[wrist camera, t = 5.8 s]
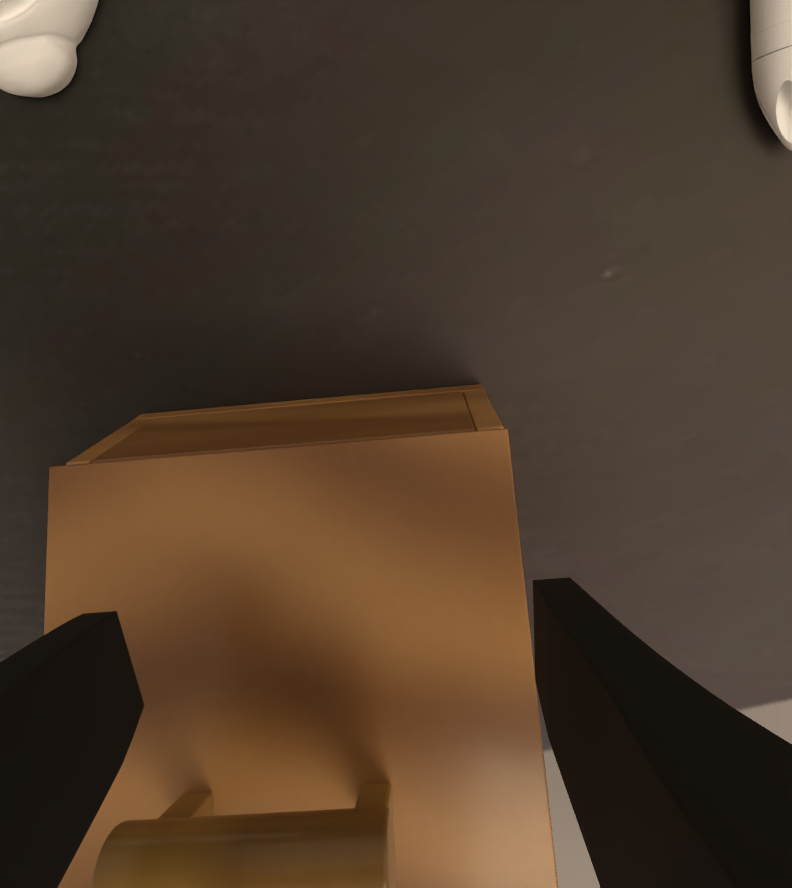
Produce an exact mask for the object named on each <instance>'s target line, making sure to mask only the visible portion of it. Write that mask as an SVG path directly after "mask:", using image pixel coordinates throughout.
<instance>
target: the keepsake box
mask: <svg viewBox="0 0 792 888" xmlns="http://www.w3.org/2000/svg"><path fill="white" fill-rule="evenodd" d="M492 429H504V427H503V425H502V424H501V422H500V420H499V418H498V416H497V414H496V412H495V410H494V408H493V406H492V404H491V402H490V400H489V398H488V397H487V395H486V393H485V391H484V388H483V386H482V385H481V384H477V385H465V386H454V387H442V388H431V389H420V390H408V391H397V392H386V393H374V394H363V395H351V396H340V397H329V398H317V399H306V400H295V401H283V402H272V403H260V404H249V405H238V406H226V407H215V408H204V409H192V410H181V411H169V412H158V413H147V414H141V415H139V416H138V417H136V418H135V419H133V420H132V421H131V422H129V423H127V424H126V425H124V426H123V427H121V428H120V429H118V430H117V431H115V432H114V433H112V434H110V435H109V436H107V437H106V438H104V439H103V440H101V441H100V442H98V443H97V444H95V445H93V446H92V447H90V448H89V449H87V450H86V451H84V452H83V453H81V454H79V455H78V456H76V457H75V458H73V459H72V460H70V461H69V462H67V463H66V465H76V464H88V463H100V462H112V461H124V460H136V459H147V458H159V457H171V456H183V455H195V454H207V453H219V452H231V451H243V450H254V449H266V448H278V447H290V446H302V445H314V444H326V443H338V442H350V441H361V440H373V439H385V438H397V437H409V436H421V435H433V434H445V433H457V432H468V431H480V430H492Z"/></svg>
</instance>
